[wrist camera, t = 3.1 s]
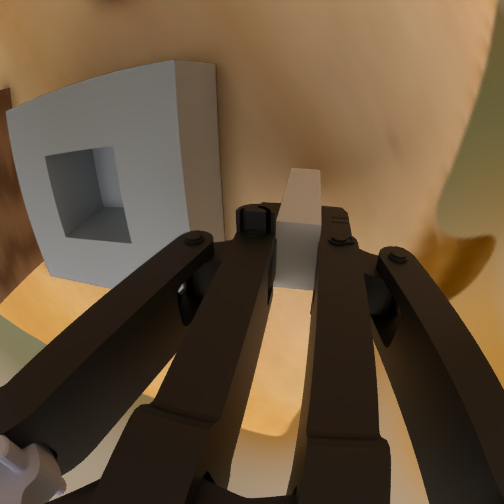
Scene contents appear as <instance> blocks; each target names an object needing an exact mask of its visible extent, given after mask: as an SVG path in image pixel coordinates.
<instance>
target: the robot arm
mask: <svg viewBox="0 0 504 504" xmlns="http://www.w3.org/2000/svg"><path fill="white" fill-rule="evenodd" d="M236 227H237V233H236V234H235V236H234V238H233V240H229V241H222V242H214V241H213V235H212V234H211V233H209V232H206V231H200V230H195V231H194V230H193V231H190V232H186V233H184V234H182V235H180V236H178V237H177V238H176V239H174V240H173V241H172V242H170V243H169V244H168V245H167V246H165V247H164V248H163V249H161V250H160V251H159V252H158V253H156V254H155V255H154V256H152V257H151V258H150V259H149V260H147V261H146V262H145V263H144V264H142V265H141V266H140V267H139V268H137V269H136V270H135V271H134V272H132V273H131V274H130V275H129V276H127V277H126V278H125V279H124V280H122V281H121V282H120V283H119V284H117V285H116V286H115V287H114V288H113V289H111V290H110V291H109V292H108V293H107V294H105V295H104V296H103V297H102V298H101V299H99V300H98V301H97V302H96V303H95V304H93V305H92V306H91V307H90V308H89V309H88V310H86V311H85V312H84V313H83V314H82V315H81V316H79V317H78V318H77V319H76V320H75V321H74V322H73V323H71V324H70V325H69V326H68V327H67V328H66V329H65V330H64V331H62V332H61V333H60V334H59V335H58V336H57V337H56V338H55V339H53V340H52V341H51V342H50V343H49V344H48V345H47V346H46V347H45V348H44V349H43V350H41V352H39V353H38V354H37V355H36V356H35V357H34V358H33V359H32V360H31V361H30V362H29V363H27V364H26V366H24V367H23V368H22V369H21V370H20V371H19V372H18V373H17V374H16V375H15V376H14V377H13V378H12V379H11V380H10V381H9V382H8V383H7V384H5V385H4V386H2V387H0V504H390V488H391V485H390V484H391V455H390V447H389V444H388V442H387V440H385V439H384V438H382V437H381V436H380V433H379V413H378V393H377V378H376V367H375V355H374V346H373V340H374V343H375V345H376V347H377V350H378V352H379V355H380V357H381V360H382V362H383V365H384V367H385V370H386V372H387V375H388V378H389V380H390V382H391V386H392V388H393V391H394V394H395V396H396V399H397V401H398V404H399V407H400V410H401V413H402V416H403V418H404V422H405V424H406V427H407V430H408V433H409V436H410V439H411V442H412V446H413V449H414V452H415V455H416V458H417V462H418V465H419V468H420V472H421V475H422V479H423V482H424V486H425V489H426V493H427V496H428V500H429V503H430V504H504V389H503V387H502V385H501V384H500V382H499V380H498V378H497V376H496V375H495V373H494V371H493V369H492V367H491V366H490V364H489V362H488V361H487V359H486V357H485V356H484V354H483V352H482V351H481V349H480V348H479V346H478V344H477V343H476V341H475V339H474V338H473V336H472V335H471V333H470V332H469V330H468V329H467V327H466V326H465V324H464V323H463V321H462V320H461V318H460V317H459V315H458V314H457V312H456V311H455V309H454V308H453V307H452V305H451V304H450V302H449V301H448V300H447V298H446V297H445V295H444V294H443V293H442V291H441V290H440V289H439V287H438V286H437V285H436V283H435V282H434V281H433V279H432V278H431V277H430V275H429V274H428V273H427V271H426V270H425V269H424V268H423V266H422V265H421V264H420V262H419V261H418V260H417V259H416V257H415V256H414V255H413V254H412V253H410V252H409V251H407V250H405V249H404V248H401V247H400V248H399V247H397V246H395V247H393V246H389V247H384V248H382V249H381V250H380V252H379V256H377V255H374V254H370V253H368V252H365V251H363V250H361V249H359V246H358V242H357V240H356V239H355V238H354V237H353V236H352V234H351V228H350V224H349V218H348V213H347V212H346V211H345V210H344V209H343V208H340V207H329V206H321V179H320V170H316V169H303V168H292V169H291V172H290V176H289V179H288V183H287V186H286V189H285V193H284V196H283V200H282V203H268V202H263V203H261V204H249V205H244V206H241V207H239V208H238V209H237V210H236ZM274 279H275V280H274ZM273 283H274V287H283V288H293V289H304V290H313V297H312V305H311V312H310V314H311V322H310V334H309V344H308V355H307V364H306V373H305V382H304V390H303V399H302V406H301V414H300V421H299V428H298V435H297V441H296V448H295V454H294V460H293V466H292V472H291V476H290V480H289V485H288V489H287V493H286V496H276V497H265V498H245V497H242V496H239V495H237V494H235V493H232V492H230V491H228V490H227V487H228V483H229V478H230V470H231V462H232V458H233V454H234V450H235V447H236V443H237V439H238V436H239V431H240V428H241V424H242V421H243V417H244V413H245V409H246V405H247V401H248V397H249V393H250V389H251V385H252V381H253V377H254V373H255V369H256V365H257V361H258V357H259V353H260V349H261V344H262V340H263V336H264V332H265V327H266V323H267V319H268V314H269V310H270V306H271V301H272V297H273ZM182 284H183V289H182V290H181V291H180V292H178V291H179V289H180V287H181V286H182ZM176 352H177V353H176ZM175 354H176V355H175ZM174 355H175V357H174V359H173V361H172V363H171V366H170V368H169V370H168V372H167V374H166V376H165V378H164V380H163V382H162V384H161V387H160V389H159V391H158V393H157V395H156V397H155V399H154V401H153V402H151V403H150V404H143V405H140V406H139V407H137V408H136V409H135V410H134V412H133V413H132V415H131V417H130V418H129V420H128V422H127V424H126V426H125V428H124V430H123V432H122V434H121V436H120V439H119V441H118V443H117V445H116V447H115V449H114V451H113V453H112V455H111V457H110V460H109V462H108V464H107V466H106V468H105V470H104V472H103V475H102V477H101V479H99V480H97V481H95V482H92V483H90V484H88V485H86V486H84V487H82V488H80V489H78V490H75V491H73V492H71V493H68V494H66V495H64V496H61V497H59V498H57V499H54V500H52V501H49V500H50V499H51V498H52V497H53V496H54V495H61V494H63V493H64V492H65V490H66V482H65V480H64V479H63V478H62V475H64V474H65V473H67V472H69V471H70V470H72V469H73V468H75V467H76V466H77V465H78V464H80V463H81V462H82V461H83V460H84V459H85V458H86V457H87V456H88V455H89V454H90V453H91V452H92V451H93V450H94V449H95V448H96V447H97V445H98V444H99V443H100V442H101V441H102V440H103V438H104V437H105V436H106V435H107V434H108V433H109V431H110V430H111V429H112V428H113V427H114V426H115V424H116V423H117V422H118V421H119V420H120V419H121V417H122V416H123V415H124V414H125V413H126V412H127V410H128V409H129V408H130V407H131V406H132V405H133V403H134V402H135V401H136V400H137V399H138V397H139V396H140V395H141V394H142V393H143V392H144V390H145V389H146V388H147V387H148V386H149V384H150V383H151V382H152V381H153V380H154V379H155V377H156V376H157V375H158V374H159V373H160V371H161V370H162V369H163V368H164V367H165V366H166V364H167V363H168V362H169V361H170V360H171V358H172V357H173V356H174ZM48 501H49V502H48Z"/></svg>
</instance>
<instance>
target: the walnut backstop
mask: <svg viewBox="0 0 504 504" xmlns="http://www.w3.org/2000/svg"><path fill="white" fill-rule="evenodd" d="M10 109H12V108H11V99H10V88H8V89H4V90H0V304H1V302H2V301H3V300H4V299H5V298H6V297H7V296H8V295H9V294H10V293H11V292H12V291H13V290H14V289H15V288H16V287H17V286H18V285H19V284H20V283H21V282H22V281H23V280H24V279H25V278H26V277H27V276H28V275H29V274H30V273H31V272H32V271H33V270H34V269H35V268H37V267H38V266H39V265H40V264H41V263H42V262H43V261H44V259H43V256H42V254H41V251H40V248H39V246H38V243H37V240H36V237H35V234H34V231H33V228H32V225H31V222H30V219H29V216H28V213H27V210H26V206H25V203H24V199H23V196H22V192H21V188H20V184H19V180H18V176H17V172H16V168H15V163H14V159H13V154H12V148H11V143H10V137H9V131H8V125H7V117H6V111H7V110H10Z"/></svg>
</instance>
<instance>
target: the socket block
mask: <svg viewBox="0 0 504 504" xmlns="http://www.w3.org/2000/svg"><path fill="white" fill-rule="evenodd" d="M6 117H7V125H8V131H9V137H10V143H11V148H12V154H13V159H14V163H15V168H16V172H17V176H18V180H19V184H20V188H21V192H22V196H23V199H24V203H25V206H26V210H27V213H28V216H29V219H30V222H31V225H32V228H33V231H34V234H35V237H36V240H37V243H38V246H39V248H40V251H41V254H42V256H43V259H44V261H45V264H46V266H47V269H48V271H49V274H50V276H53V277H58V278H62V279H67V280H71V281H76V282H81V283H86V284H90V285H95V286H100V287H105V288H110V289H113V288H114V287H115V286H116V285H117V284H119V283H120V282H121V281H122V280H124V279H125V278H126V277H127V276H129V275H130V274H131V273H132V272H134V271H135V270H136V269H137V268H139V267H140V266H141V265H142V264H144V263H145V262H146V261H147V260H149V259H150V258H151V257H152V256H154V255H155V254H156V253H158V252H159V251H160V250H161V249H163V248H164V247H165V246H167V245H168V244H169V243H170V242H172V241H173V240H174V239H176V238H177V237H178V236H180V235H182V234H184V233H186V232H190V231H193V230H194V231H195V230H200V231H206V232H209V233H211V234H212V235H213V241H214V242H222V241H225V234H224V220H223V205H222V190H221V174H220V157H219V138H218V118H217V95H216V69H215V64H212V63H205V62H196V61H186V60H175V59H174V60H168V61H162V62H157V63H151V64H146V65H142V66H137V67H132V68H128V69H124V70H120V71H116V72H112V73H108V74H104V75H101V76H97V77H94V78H90V79H87V80H84V81H81V82H78V83H75V84H72V85H69V86H66V87H63V88H60V89H57V90H55V91H52V92H49V93H47V94H44V95H42V96H39V97H37V98H34V99H32V100H29V101H27V102H25V103H23V104H20V105H18V106H16V107H14V108H12V109H10V110H7V111H6ZM182 289H183V284H182V286H181V287H180V289H179V291H178V292H180V291H181V290H182Z"/></svg>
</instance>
